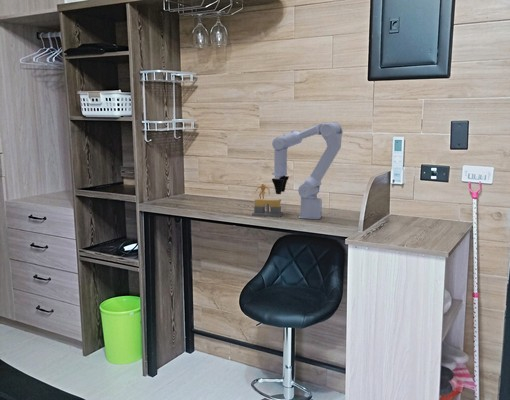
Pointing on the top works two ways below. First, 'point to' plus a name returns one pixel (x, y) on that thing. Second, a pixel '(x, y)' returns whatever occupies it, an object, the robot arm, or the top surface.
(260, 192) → the figurine
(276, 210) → the display stand
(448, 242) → the top surface
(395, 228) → the top surface
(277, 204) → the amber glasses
